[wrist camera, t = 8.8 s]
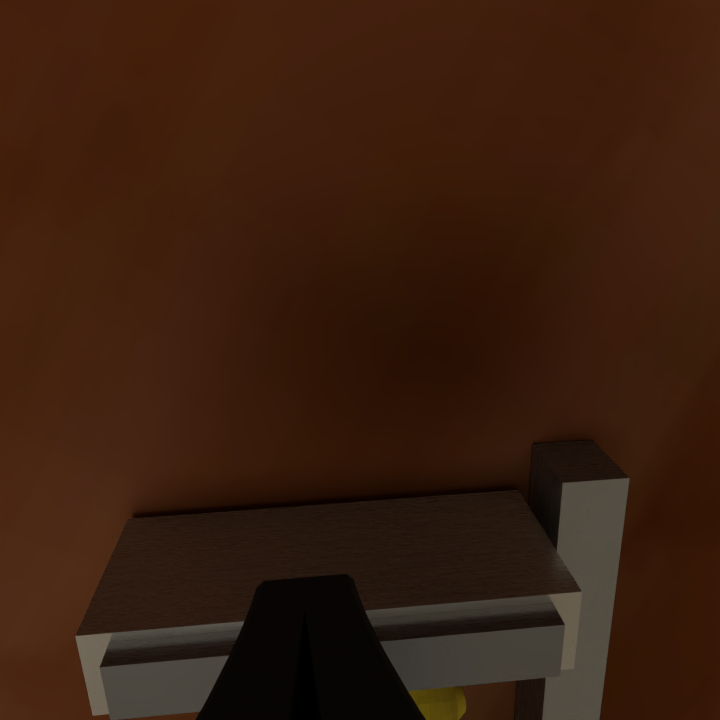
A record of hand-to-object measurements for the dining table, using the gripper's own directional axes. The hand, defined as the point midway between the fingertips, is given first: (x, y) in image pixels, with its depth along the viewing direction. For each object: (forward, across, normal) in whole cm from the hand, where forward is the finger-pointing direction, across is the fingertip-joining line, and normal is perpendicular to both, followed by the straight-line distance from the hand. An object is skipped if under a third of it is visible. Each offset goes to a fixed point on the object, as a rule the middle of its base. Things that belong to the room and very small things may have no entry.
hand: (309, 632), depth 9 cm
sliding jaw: (+10, 0, +5) cm, 12 cm away
